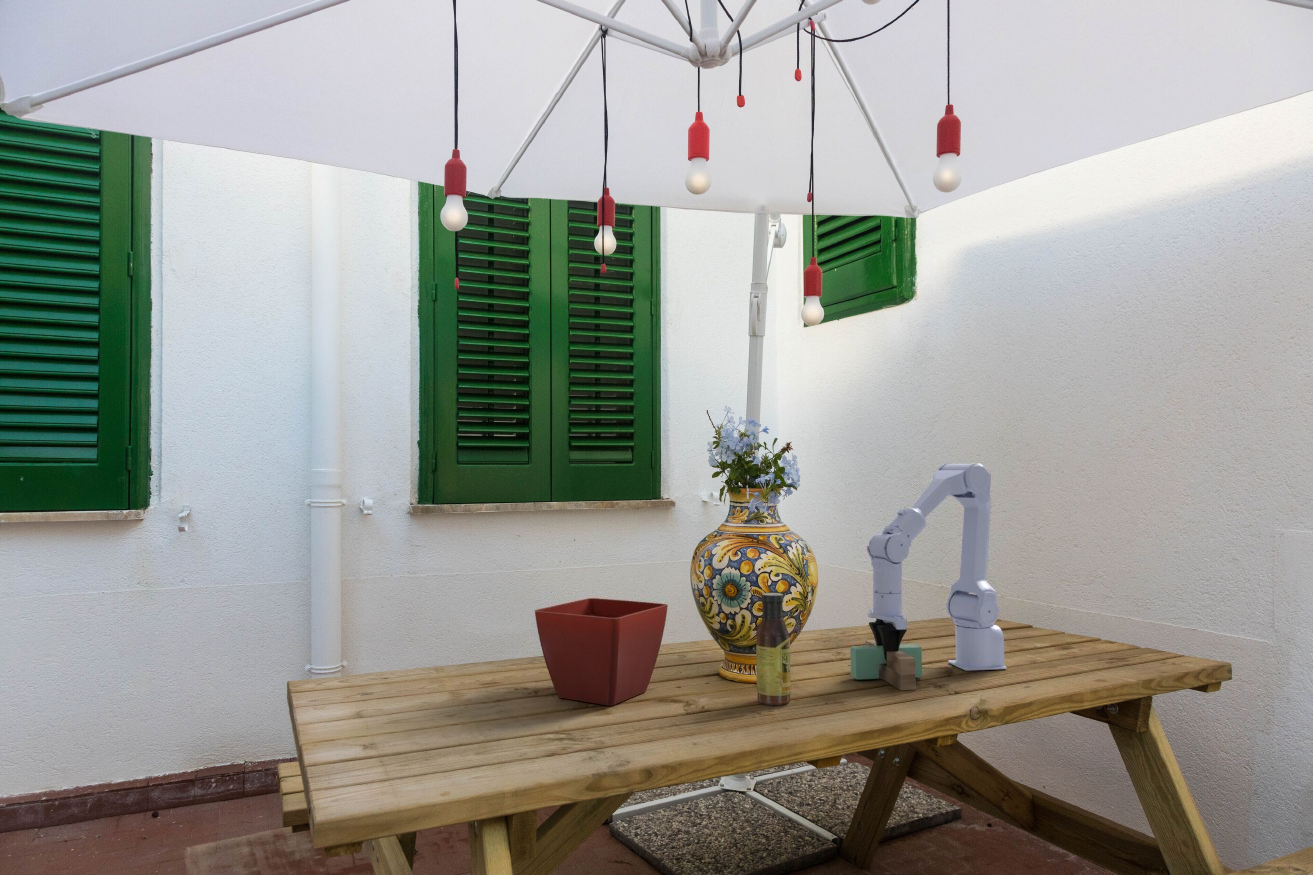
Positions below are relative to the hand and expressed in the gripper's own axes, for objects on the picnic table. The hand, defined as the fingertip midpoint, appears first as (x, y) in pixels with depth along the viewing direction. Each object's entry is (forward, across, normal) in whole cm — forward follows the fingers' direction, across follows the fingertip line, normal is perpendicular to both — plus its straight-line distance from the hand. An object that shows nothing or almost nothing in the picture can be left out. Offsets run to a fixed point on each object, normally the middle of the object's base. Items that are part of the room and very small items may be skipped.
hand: (887, 658), depth 172 cm
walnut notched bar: (+4, 0, +1) cm, 4 cm away
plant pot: (+6, +3, -58) cm, 59 cm away
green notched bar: (+3, 0, 0) cm, 4 cm away
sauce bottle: (+5, +13, -27) cm, 31 cm away
